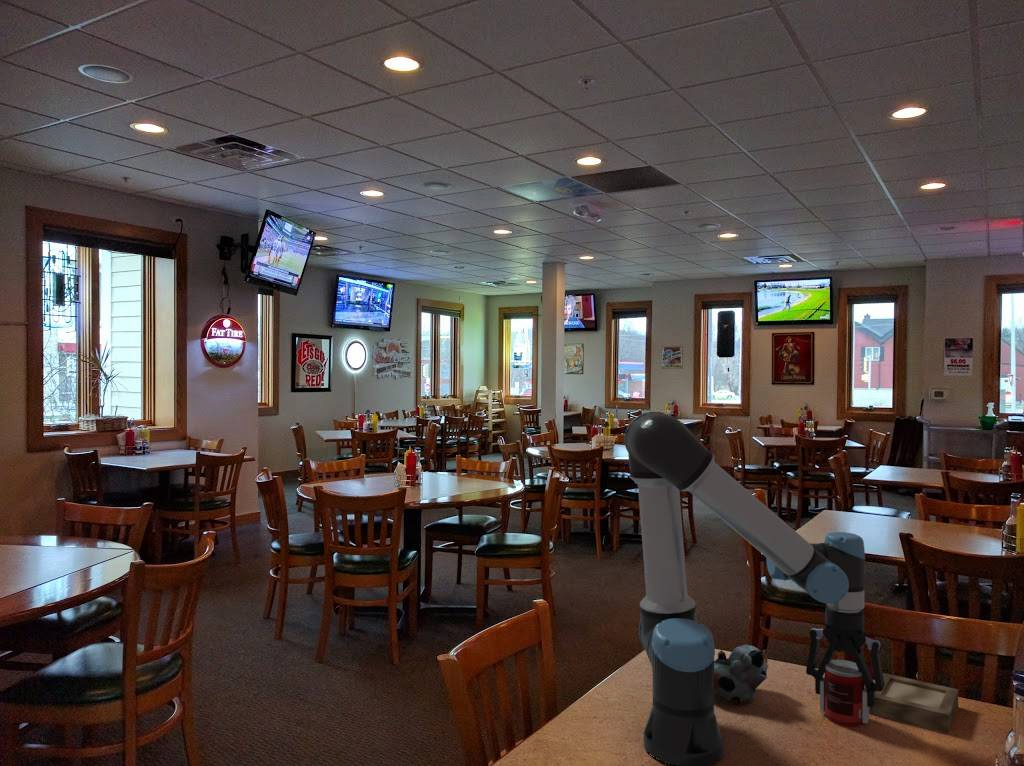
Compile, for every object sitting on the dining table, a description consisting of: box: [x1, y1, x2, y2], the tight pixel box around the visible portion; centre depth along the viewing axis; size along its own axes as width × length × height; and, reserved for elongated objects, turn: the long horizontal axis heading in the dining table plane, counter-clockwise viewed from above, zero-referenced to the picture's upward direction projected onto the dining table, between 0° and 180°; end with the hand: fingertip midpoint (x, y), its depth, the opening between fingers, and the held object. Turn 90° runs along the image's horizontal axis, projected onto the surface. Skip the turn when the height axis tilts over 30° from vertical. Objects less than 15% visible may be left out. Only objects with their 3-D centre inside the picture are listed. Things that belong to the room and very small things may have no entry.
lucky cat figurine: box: [714, 644, 769, 706], centre depth 167 cm, size 15×12×14 cm
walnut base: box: [869, 672, 959, 734], centre depth 159 cm, size 15×15×4 cm
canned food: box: [824, 659, 865, 727], centre depth 155 cm, size 8×8×11 cm
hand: (844, 715), depth 155 cm, fingers closed on canned food, 8 cm apart
